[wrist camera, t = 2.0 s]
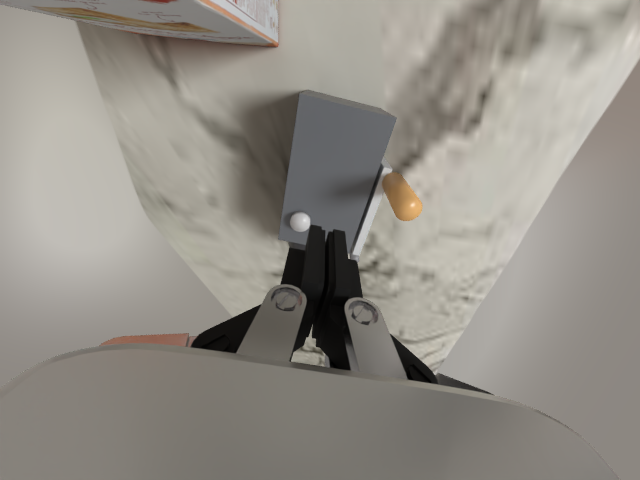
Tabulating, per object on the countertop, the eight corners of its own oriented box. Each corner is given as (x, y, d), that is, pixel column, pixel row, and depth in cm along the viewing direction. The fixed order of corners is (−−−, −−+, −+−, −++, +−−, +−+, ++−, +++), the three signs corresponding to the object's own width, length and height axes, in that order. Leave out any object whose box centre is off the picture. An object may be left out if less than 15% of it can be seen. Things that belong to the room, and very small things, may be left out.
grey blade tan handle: (371, 147, 28) (396, 190, 17) (390, 151, 29) (428, 197, 18) (345, 227, 34) (352, 296, 23) (362, 230, 35) (376, 301, 24)
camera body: (307, 89, 26) (298, 94, 18) (380, 108, 27) (399, 119, 19) (286, 223, 35) (274, 262, 28) (340, 235, 36) (343, 275, 28)
